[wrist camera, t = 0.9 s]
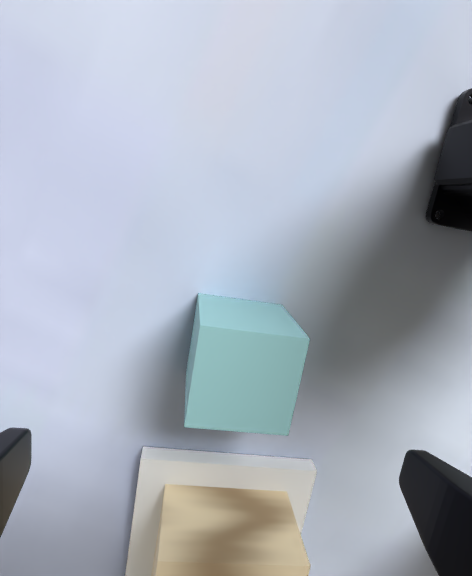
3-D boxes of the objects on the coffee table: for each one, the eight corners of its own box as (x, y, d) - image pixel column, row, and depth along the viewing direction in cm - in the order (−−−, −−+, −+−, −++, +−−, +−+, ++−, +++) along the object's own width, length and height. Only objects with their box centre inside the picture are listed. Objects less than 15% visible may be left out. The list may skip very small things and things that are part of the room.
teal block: (281, 304, 20) (310, 338, 15) (266, 380, 21) (287, 435, 16) (197, 293, 19) (200, 325, 14) (186, 372, 20) (184, 427, 15)
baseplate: (311, 459, 22) (316, 471, 21) (279, 589, 25) (282, 605, 24) (143, 446, 21) (140, 458, 20) (124, 586, 23) (121, 603, 22)
